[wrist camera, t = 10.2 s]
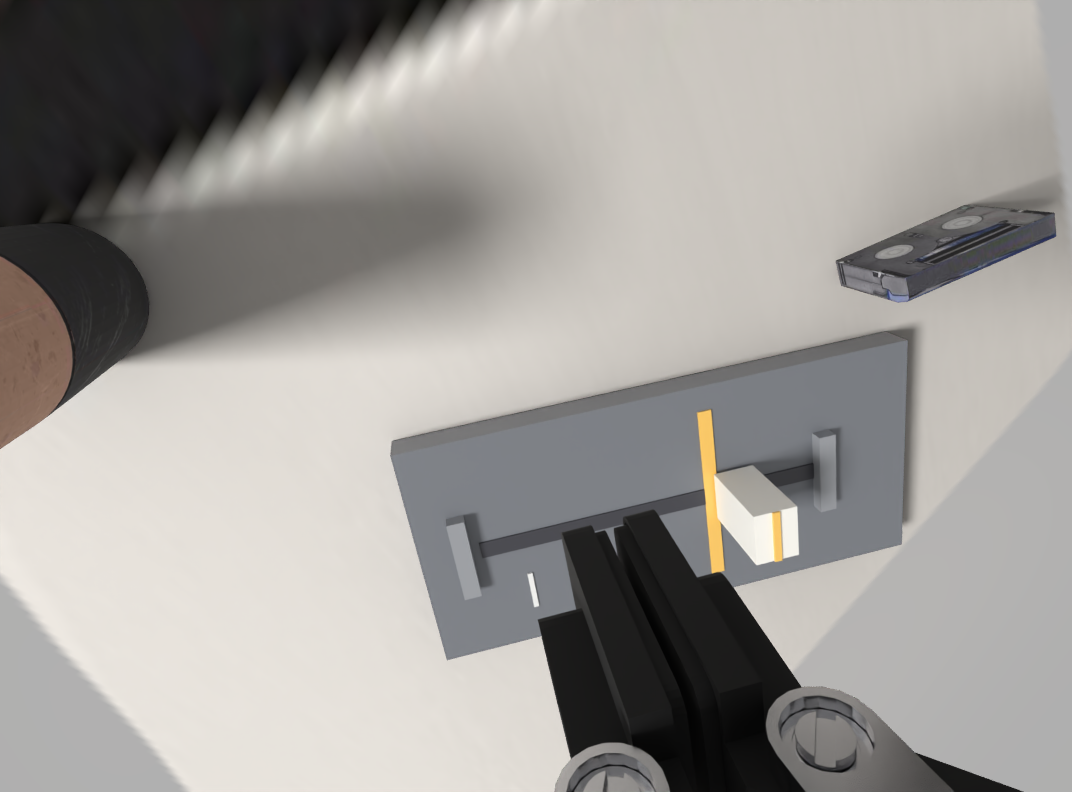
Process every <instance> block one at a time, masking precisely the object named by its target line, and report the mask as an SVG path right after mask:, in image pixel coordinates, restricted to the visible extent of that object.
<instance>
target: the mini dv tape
mask: <svg viewBox="0 0 1072 792" xmlns="http://www.w3.org/2000/svg"><path fill="white" fill-rule="evenodd" d="M1054 237H1056V226H1055V214H1054V213H1051V212H1040V211H1028V210H1017V209H1005V208H993V207H982V206H970V205H964V206H961V207H959V208H957V209H955V210H952V211H950V212H948V213H945V214H943V215H941V216H938V217H936V218H934V219H931V220H929V221H927V222H924V223H922V224H920V225H918V226H915V227H913V228H911V229H908V230H906V231H904V232H901V233H899V234H897V235H894V236H892V237H890V238H887V239H885V240H883V241H881V242H878V243H876V244H874V245H871V246H869V247H867V248H864V249H862V250H860V251H857V252H855V253H853V254H851V255H848V256H846V257H844V258H841V259H839V260H837V261H836V264H837V269H838V274H839V278H840V283H841V286H844V287H848V288H851V289H854V290H858V291H861V292H864V293H868V294H871V295H875V296H878V297H881V298H885V299H888V300H891V301H895V302H907V301H910V300H912V299H914V298H917V297H919V296H921V295H923V294H926V293H928V292H930V291H933V290H935V289H937V288H939V287H942V286H944V285H946V284H949V283H951V282H953V281H956V280H958V279H960V278H962V277H965V276H967V275H969V274H972V273H974V272H976V271H978V270H981V269H983V268H985V267H988V266H990V265H992V264H994V263H997V262H999V261H1001V260H1004V259H1006V258H1008V257H1011V256H1013V255H1015V254H1017V253H1020V252H1022V251H1024V250H1027V249H1029V248H1031V247H1033V246H1036V245H1038V244H1040V243H1043V242H1045V241H1047V240H1050V239H1052V238H1054Z"/></svg>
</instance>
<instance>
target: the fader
mask: <svg viewBox="0 0 1072 792" xmlns="http://www.w3.org/2000/svg"><path fill="white" fill-rule="evenodd" d="M714 482H715V493H716V505H717V517H718V519H719V521H720V522H721V523H722V524H723V525H724V527H725V528H726V529H727V530H728V531H729V533H730V534H731V535H732V536H733V537H734V539H735V540H736V541H737V542H738V544H739V545H740V546H741V547H742V548H743V550H744V551H745V552H746V553H747V554H748V556H749V557H750V558H751V559H752V561H753V562H754V563H755V564H756V565H760V564H764V563H768V562H772V561H775V562H778V561H782V559H784V558H788V557H792V556H796V555H799V542H798V514H797V506H796V505H795V504H794V503H793V502H792V501H791V500H790V499H789V498H788V497H787V496H786V495H784V494H783V493H782V492H781V491H780V490H779V489H778V488H777V487H776V486H775V485H774V484H773V483H771V482H770V481H769V480H768V479H767V478H766V477H765V476H764V475H763V474H762V473H761V472H760V471H758V470H757V469H756V468H755V467H754V466H753V465H751V466H747V467H743V468H738V469H734V470H730V471H726V472H722V473H717V474H714Z"/></svg>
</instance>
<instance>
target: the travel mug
mask: <svg viewBox="0 0 1072 792" xmlns="http://www.w3.org/2000/svg"><path fill="white" fill-rule="evenodd" d="M148 315H149V302H148V295H147V291H146V287H145V284H144V282H143V279H142V277H141V275H140V274H139V272H138V270H137V268H136V267H135V266H134V264H133V263H132V261H131V260H130V259H129V258H128V257H127V256H126V255H125V254H124V253H123V252H122V251H121V250H120V249H119V248H118V247H117V246H115V245H114V244H113V243H111V242H110V241H108V240H107V239H105V238H103V237H102V236H100V235H98V234H96V233H94V232H91V231H89V230H86V229H84V228H80V227H77V226H73V225H67V224H58V223H43V224H31V225H20V226H11V227H2V228H0V449H1V448H2V447H4V446H5V445H7V444H8V443H10V442H11V441H13V440H14V439H16V438H17V437H19V436H20V435H22V434H23V433H25V432H26V431H28V430H29V429H31V428H32V427H34V426H35V425H36V424H38V423H39V422H41V421H42V420H43V419H45V418H46V417H47V416H49V415H50V414H51V413H53V412H54V411H55V410H56V409H58V408H59V407H60V406H62V405H63V404H64V403H65V402H67V401H68V400H69V399H71V398H72V397H73V396H74V395H76V394H77V393H78V392H80V391H81V390H82V389H83V388H85V387H86V386H87V385H89V384H90V383H91V382H92V381H94V380H95V379H96V378H98V377H99V376H100V375H101V374H103V373H104V372H105V371H107V370H108V369H109V368H110V367H112V366H113V365H114V364H115V363H117V362H118V361H119V360H120V359H122V358H123V357H124V356H125V355H126V354H127V353H128V352H129V351H130V350H131V349H132V348H133V347H134V346H135V345H136V344H137V343H138V341H139V340H140V338H141V336H142V335H143V333H144V330H145V327H146V324H147V320H148Z"/></svg>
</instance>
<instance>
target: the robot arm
mask: <svg viewBox="0 0 1072 792" xmlns="http://www.w3.org/2000/svg"><path fill="white" fill-rule="evenodd" d="M561 537H562V543H563V548H564V553H565V558H566V563H567V568H568V573H569V577H570V582H571V587H572V592H573V597H574V602H575V607H576V609H575V610H572V611H568V612H564V613H560V614H556V615H553V616H549V617H545V618H541V619H538V623H539V627H540V632H541V636H542V640H543V645H544V649H545V653H546V657H547V662H548V666H549V670H550V674H551V679H552V683H553V687H554V691H555V695H556V699H557V704H558V708H559V712H560V716H561V720H562V724H563V728H564V732H565V737H566V741H567V745H568V749H569V753H570V757H571V760H570V761H569V762H568V764H567V765H566V766H565V767H564V768H563V769H562V771H561V774H560V776H559V778H558V780H557V782H556V784H555V792H1022V791H1020V790H1017V789H1014V788H1012V787H1009V786H1006V785H1003V784H1001V783H998V782H995V781H992V780H990V779H987V778H984V777H981V776H979V775H976V774H973V773H970V772H967V771H965V770H962V769H959V768H956V767H954V766H951V765H948V764H945V763H943V762H940V761H937V760H934V759H932V758H929V757H926V756H923V755H920V754H918V753H915V752H914V751H913V750H912V749H911V748H910V747H909V746H908V745H907V744H906V743H905V742H904V741H903V740H901V738H900V737H899V736H898V735H897V734H896V733H895V732H893V730H892V729H891V728H890V727H889V726H888V725H887V724H886V723H885V722H884V721H883V720H881V718H880V717H879V716H877V714H876V713H875V712H874V711H872V710H871V709H870V708H869V707H867V706H866V705H865V704H863V703H862V702H861V701H860V700H858V699H857V698H855V697H853V696H850V695H848V694H846V693H844V692H842V691H840V690H835V689H830V688H826V687H801V686H800V684H799V683H798V681H797V680H796V678H795V677H794V675H793V674H792V672H791V671H790V670H789V668H788V667H787V665H786V664H785V662H784V661H783V659H782V658H781V656H780V655H779V653H778V652H777V651H776V649H775V648H774V646H773V645H772V643H771V642H770V640H769V639H768V637H767V636H766V635H765V633H764V632H763V630H762V629H761V627H760V626H759V624H758V623H757V621H756V620H755V619H754V617H753V616H752V614H751V613H750V611H749V610H748V608H747V607H746V605H745V604H744V603H743V601H742V600H741V598H740V597H739V595H738V594H737V592H736V591H735V589H734V588H733V586H732V585H731V584H730V582H729V581H728V579H727V578H726V577H725V576H724V575H723V574H722V573H720V572H716V573H712V574H708V575H704V576H701V577H697V576H696V575H695V573H694V572H693V570H692V568H691V567H690V565H689V564H688V562H687V560H686V559H685V557H684V555H683V554H682V552H681V551H680V549H679V547H678V546H677V544H676V543H675V541H674V539H673V538H672V536H671V535H670V533H669V531H668V530H667V528H666V527H665V525H664V523H663V522H662V520H661V518H660V517H659V515H658V514H657V512H656V511H655V510H654V509H652V510H648V511H644V512H640V513H636V514H632V515H628V516H624V517H623V526H619V527H615V528H614V537H615V543H616V549H617V554H616V551H615V549H614V547H613V545H612V543H611V541H610V539H609V536H608V534H607V532H606V531H605V530H603V531H600V532H596V533H595V531H594V529H593V527H592V526H591V525H589V526H585V527H581V528H577V529H573V530H569V531H565V532H561ZM617 555H618V556H617Z"/></svg>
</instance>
